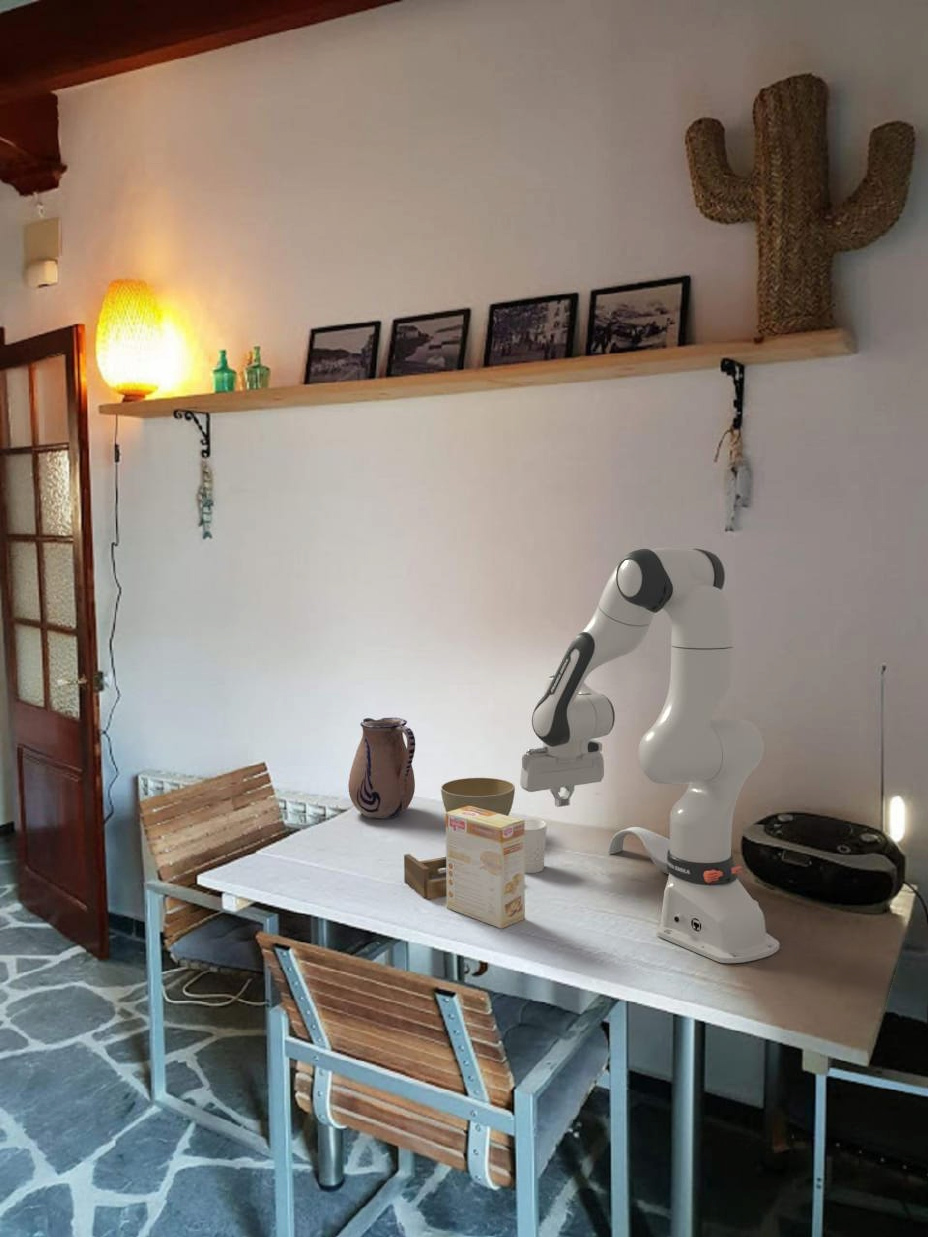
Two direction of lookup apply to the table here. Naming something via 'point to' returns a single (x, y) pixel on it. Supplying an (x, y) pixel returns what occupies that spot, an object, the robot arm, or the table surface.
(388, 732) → the ceramic pitcher
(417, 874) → the brown wooden frame
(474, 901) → the coffeecake box
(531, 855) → the white cup
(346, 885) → the table surface
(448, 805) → the flower pot
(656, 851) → the spoon rest
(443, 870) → the pusher
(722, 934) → the robot arm
